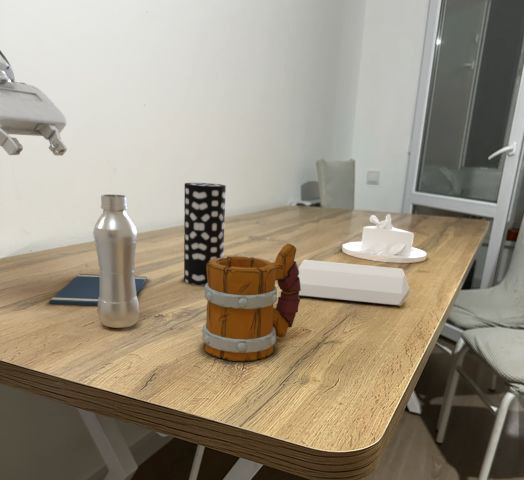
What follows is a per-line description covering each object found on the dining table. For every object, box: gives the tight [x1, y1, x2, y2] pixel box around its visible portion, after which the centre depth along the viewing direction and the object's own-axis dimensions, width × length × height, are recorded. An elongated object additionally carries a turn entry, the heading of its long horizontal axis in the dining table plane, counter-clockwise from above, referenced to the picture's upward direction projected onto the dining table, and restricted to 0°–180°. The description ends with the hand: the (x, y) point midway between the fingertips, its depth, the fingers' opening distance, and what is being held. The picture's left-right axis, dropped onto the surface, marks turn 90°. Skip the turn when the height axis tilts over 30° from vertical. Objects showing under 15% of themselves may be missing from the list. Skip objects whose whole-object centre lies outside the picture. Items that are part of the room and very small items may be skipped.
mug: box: [201, 243, 301, 362], centre depth 75 cm, size 11×16×15 cm, turn 125°
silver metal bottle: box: [93, 193, 140, 329], centre depth 79 cm, size 6×7×20 cm
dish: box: [341, 213, 428, 264], centre depth 153 cm, size 25×25×11 cm
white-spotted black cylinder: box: [183, 182, 227, 287], centre depth 109 cm, size 8×8×20 cm
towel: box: [48, 273, 148, 307], centre depth 101 cm, size 14×20×1 cm
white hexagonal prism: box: [298, 259, 411, 307], centre depth 105 cm, size 7×7×24 cm
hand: (40, 152), depth 77 cm, fingers open, 8 cm apart
